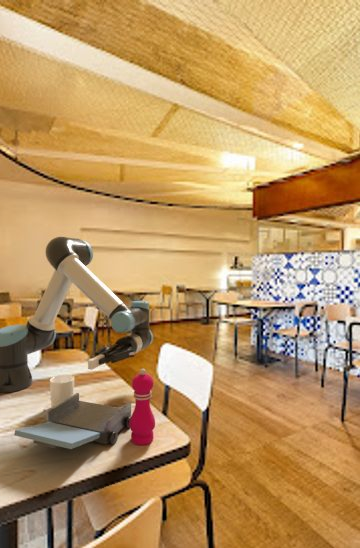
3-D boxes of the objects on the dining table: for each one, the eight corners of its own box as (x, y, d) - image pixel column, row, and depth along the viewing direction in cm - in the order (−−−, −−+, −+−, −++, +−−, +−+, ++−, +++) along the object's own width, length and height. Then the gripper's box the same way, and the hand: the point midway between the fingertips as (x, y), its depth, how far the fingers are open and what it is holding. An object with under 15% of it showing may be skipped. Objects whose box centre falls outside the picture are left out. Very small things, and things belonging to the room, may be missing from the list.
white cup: (66, 414, 101) (66, 384, 101) (44, 411, 103) (44, 381, 102) (78, 403, 109) (78, 375, 108) (58, 401, 110) (58, 373, 110)
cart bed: (42, 432, 90) (42, 410, 89) (74, 411, 103) (74, 392, 103) (110, 448, 82) (110, 424, 82) (134, 423, 96) (134, 402, 95)
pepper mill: (131, 448, 83) (131, 374, 82) (127, 434, 89) (128, 365, 89) (157, 444, 85) (158, 372, 84) (152, 430, 92) (153, 363, 91)
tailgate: (46, 430, 87) (13, 439, 76) (48, 421, 88) (15, 430, 77) (98, 441, 82) (70, 454, 71) (100, 432, 82) (72, 443, 71)
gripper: (144, 357, 113) (108, 380, 90) (112, 353, 117) (71, 374, 95) (144, 337, 113) (109, 355, 90) (113, 334, 117) (72, 350, 94)
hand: (90, 364), depth 92 cm, fingers closed
